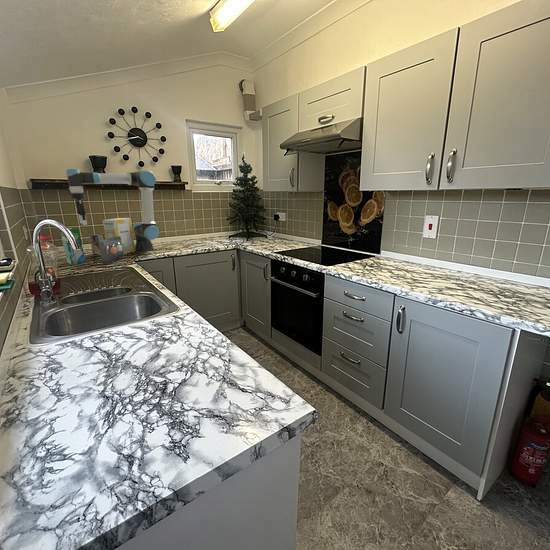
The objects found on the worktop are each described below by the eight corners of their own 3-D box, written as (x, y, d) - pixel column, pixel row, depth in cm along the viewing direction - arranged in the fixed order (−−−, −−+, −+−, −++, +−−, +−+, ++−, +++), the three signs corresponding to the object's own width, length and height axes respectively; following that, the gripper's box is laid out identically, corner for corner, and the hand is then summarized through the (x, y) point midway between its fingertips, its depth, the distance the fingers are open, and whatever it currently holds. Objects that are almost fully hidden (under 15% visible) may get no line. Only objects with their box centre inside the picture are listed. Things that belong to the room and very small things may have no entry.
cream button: (122, 250, 222) (121, 244, 221) (120, 251, 218) (119, 245, 217) (118, 250, 222) (117, 244, 221) (115, 251, 218) (114, 245, 217)
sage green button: (127, 248, 230) (126, 242, 229) (125, 249, 226) (124, 243, 225) (123, 248, 230) (123, 242, 229) (121, 249, 226) (120, 243, 225)
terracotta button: (117, 252, 215) (116, 246, 213) (114, 254, 211) (113, 247, 209) (113, 252, 215) (112, 246, 213) (110, 254, 210) (109, 248, 209)
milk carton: (81, 260, 223) (74, 227, 216) (85, 262, 217) (78, 228, 210) (67, 263, 216) (59, 228, 209) (71, 264, 210) (63, 229, 203)
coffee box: (107, 254, 245) (104, 234, 240) (101, 255, 239) (97, 235, 234) (99, 253, 247) (95, 234, 243) (92, 255, 241) (88, 235, 237)
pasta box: (119, 256, 236) (113, 220, 228) (108, 255, 239) (102, 220, 231) (135, 251, 253) (130, 218, 245) (125, 250, 256) (120, 218, 248)
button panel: (124, 256, 234) (120, 236, 229) (108, 264, 211) (104, 241, 206) (113, 256, 234) (110, 236, 229) (96, 264, 211) (92, 241, 206)
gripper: (68, 193, 211) (75, 223, 217) (72, 193, 192) (79, 226, 198) (81, 192, 215) (87, 222, 221) (86, 192, 196) (92, 225, 202)
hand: (83, 224), depth 210 cm, fingers open, 13 cm apart
